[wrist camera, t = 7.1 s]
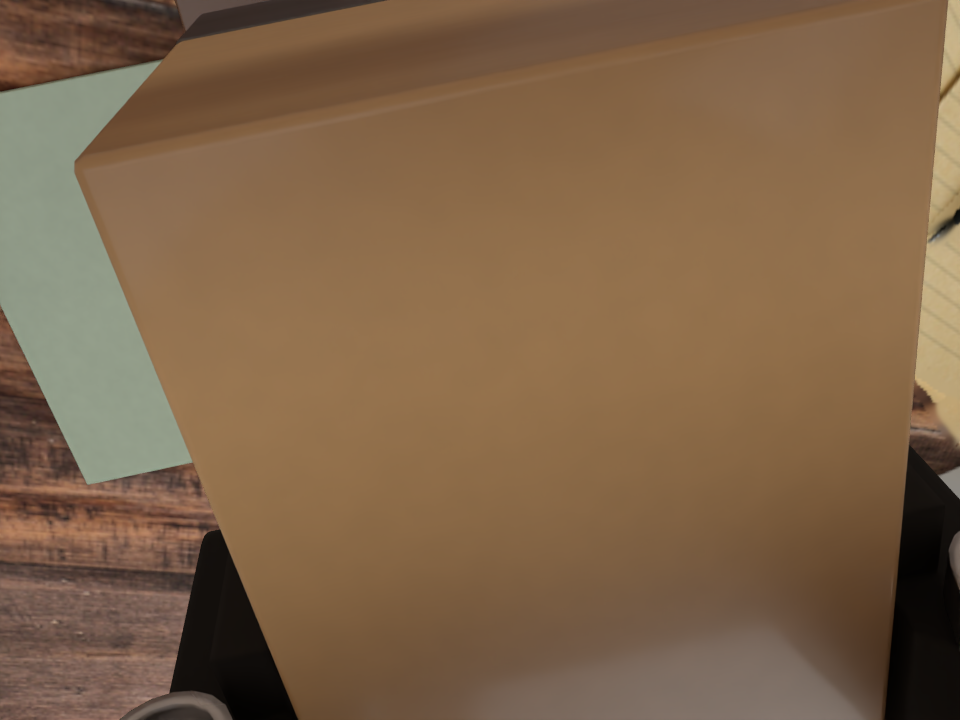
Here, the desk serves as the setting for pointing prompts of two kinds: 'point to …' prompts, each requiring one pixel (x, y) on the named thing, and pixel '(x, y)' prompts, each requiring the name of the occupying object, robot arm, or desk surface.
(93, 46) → the desk surface
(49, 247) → the mat
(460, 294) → the tan wooden block
